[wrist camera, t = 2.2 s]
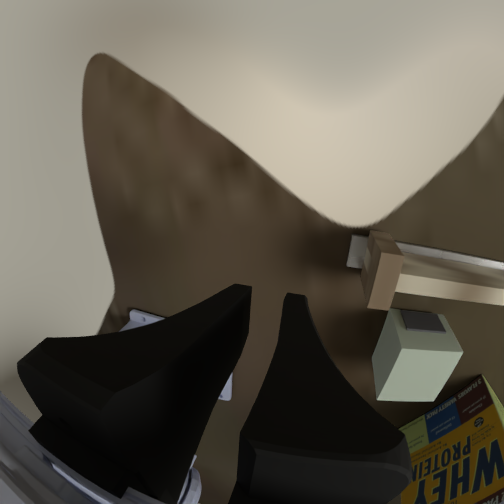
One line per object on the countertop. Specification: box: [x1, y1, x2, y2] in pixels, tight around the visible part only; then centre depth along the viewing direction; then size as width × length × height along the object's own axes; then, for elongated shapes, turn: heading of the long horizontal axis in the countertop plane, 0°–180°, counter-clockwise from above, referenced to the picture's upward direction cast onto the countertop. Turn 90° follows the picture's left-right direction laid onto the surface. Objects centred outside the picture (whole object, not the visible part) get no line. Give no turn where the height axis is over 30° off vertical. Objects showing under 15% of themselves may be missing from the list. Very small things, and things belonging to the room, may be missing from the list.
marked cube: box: [372, 308, 463, 402], centre depth 16 cm, size 4×5×4 cm
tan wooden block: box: [360, 230, 504, 311], centre depth 13 cm, size 12×3×4 cm, turn 87°
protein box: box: [399, 375, 504, 504], centre depth 13 cm, size 10×15×16 cm
